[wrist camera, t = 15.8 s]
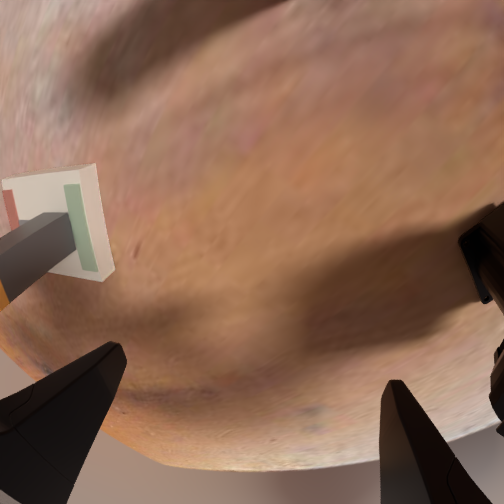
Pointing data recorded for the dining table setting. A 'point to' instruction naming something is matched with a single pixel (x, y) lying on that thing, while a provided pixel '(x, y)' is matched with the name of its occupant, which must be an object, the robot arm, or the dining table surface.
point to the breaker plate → (65, 200)
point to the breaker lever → (33, 252)
